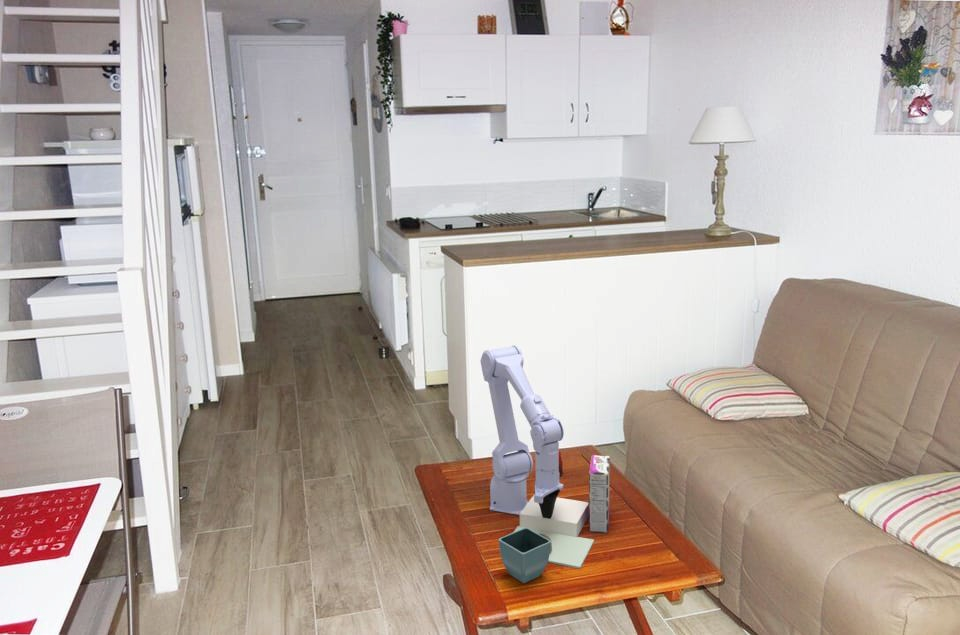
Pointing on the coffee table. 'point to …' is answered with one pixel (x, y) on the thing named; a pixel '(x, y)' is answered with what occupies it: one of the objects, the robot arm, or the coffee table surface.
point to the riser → (556, 516)
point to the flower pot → (524, 554)
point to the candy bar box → (599, 493)
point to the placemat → (566, 548)
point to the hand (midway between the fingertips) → (547, 517)
